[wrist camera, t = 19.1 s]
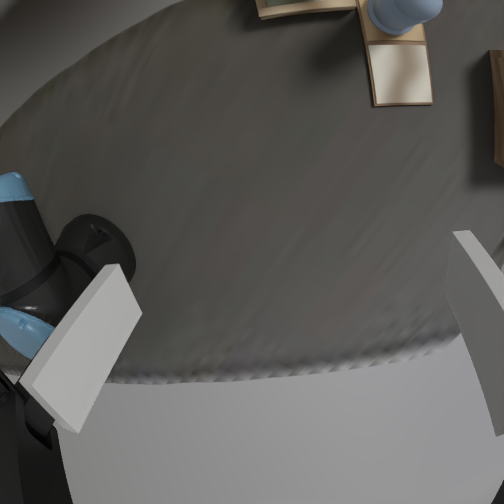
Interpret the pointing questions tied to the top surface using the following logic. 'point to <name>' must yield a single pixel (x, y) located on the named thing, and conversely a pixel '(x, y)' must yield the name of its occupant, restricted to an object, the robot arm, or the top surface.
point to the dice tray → (300, 7)
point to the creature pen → (498, 103)
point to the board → (396, 64)
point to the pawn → (401, 14)
